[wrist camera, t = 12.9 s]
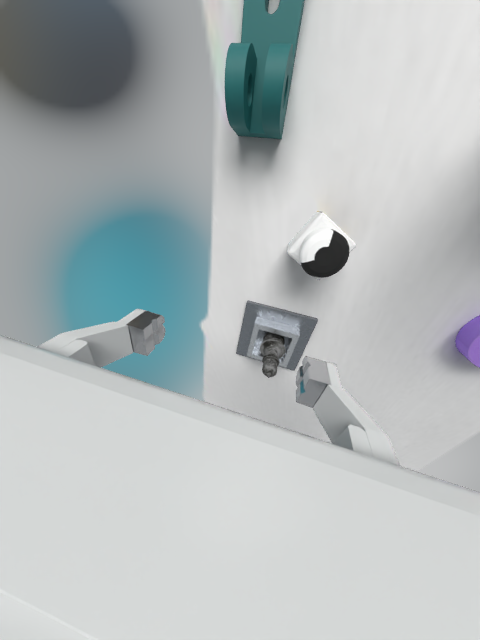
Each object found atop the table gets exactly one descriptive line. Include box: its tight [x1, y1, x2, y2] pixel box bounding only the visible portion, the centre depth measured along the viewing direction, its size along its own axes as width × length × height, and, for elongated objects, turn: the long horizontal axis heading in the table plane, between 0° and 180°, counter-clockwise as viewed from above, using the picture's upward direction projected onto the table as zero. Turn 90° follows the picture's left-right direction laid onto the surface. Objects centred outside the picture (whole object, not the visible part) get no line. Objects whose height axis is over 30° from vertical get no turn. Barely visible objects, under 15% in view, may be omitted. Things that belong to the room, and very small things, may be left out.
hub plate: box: [236, 301, 318, 370], centre depth 46 cm, size 16×16×4 cm
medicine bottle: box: [287, 211, 356, 280], centre depth 30 cm, size 7×7×12 cm
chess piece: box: [260, 332, 286, 378], centre depth 42 cm, size 6×6×12 cm
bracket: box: [225, 0, 305, 139], centre depth 21 cm, size 18×7×8 cm, turn 174°
